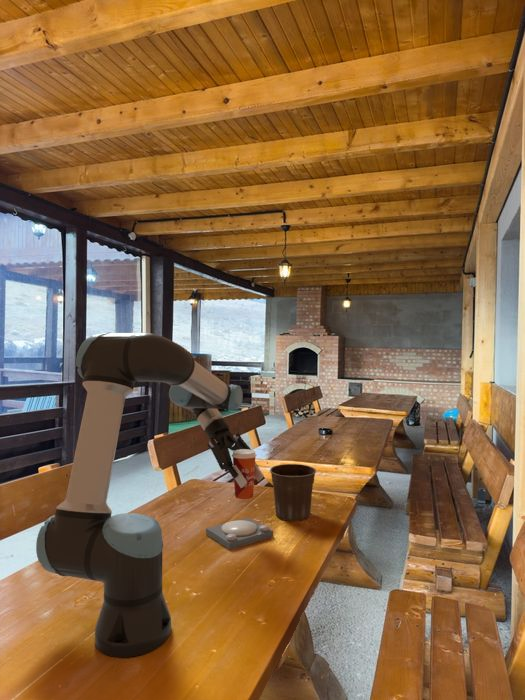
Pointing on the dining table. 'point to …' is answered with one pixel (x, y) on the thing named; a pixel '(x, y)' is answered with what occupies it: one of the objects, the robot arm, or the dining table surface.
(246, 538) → the grey flat block
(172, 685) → the dining table surface
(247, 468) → the paper cup
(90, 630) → the dining table surface
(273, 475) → the plant pot
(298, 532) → the dining table surface
